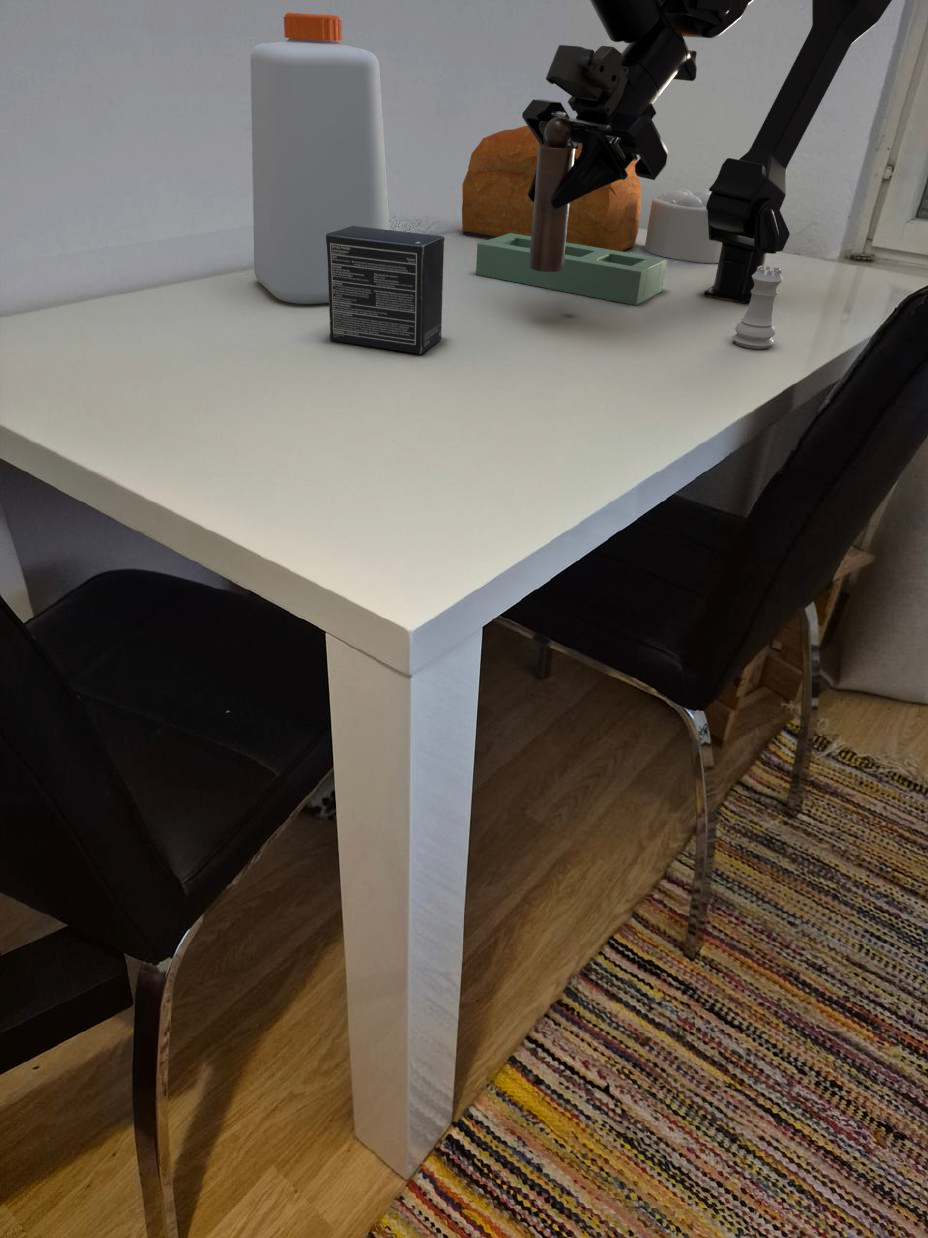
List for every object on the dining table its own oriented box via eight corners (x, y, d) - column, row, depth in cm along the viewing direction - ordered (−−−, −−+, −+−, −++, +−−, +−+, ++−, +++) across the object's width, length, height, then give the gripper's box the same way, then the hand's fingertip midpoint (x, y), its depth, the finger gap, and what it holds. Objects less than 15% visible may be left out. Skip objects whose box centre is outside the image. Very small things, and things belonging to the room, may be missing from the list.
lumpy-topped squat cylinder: (718, 265, 129) (730, 201, 125) (634, 252, 134) (643, 190, 129) (735, 253, 137) (748, 192, 132) (656, 241, 142) (665, 182, 137)
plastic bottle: (360, 270, 116) (355, 15, 101) (403, 300, 105) (405, 19, 90) (248, 277, 111) (224, 8, 95) (280, 309, 100) (260, 11, 84)
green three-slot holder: (508, 262, 124) (510, 232, 122) (662, 291, 115) (667, 259, 113) (475, 274, 118) (477, 242, 116) (636, 305, 108) (641, 271, 106)
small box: (444, 338, 93) (448, 233, 88) (422, 356, 88) (424, 245, 82) (354, 325, 96) (351, 222, 90) (327, 341, 91) (323, 232, 85)
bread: (496, 220, 151) (502, 114, 142) (643, 242, 141) (660, 130, 132) (450, 234, 139) (454, 120, 130) (608, 260, 129) (624, 138, 120)
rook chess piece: (775, 341, 98) (794, 267, 94) (769, 352, 95) (788, 275, 90) (735, 335, 100) (751, 261, 95) (728, 345, 96) (744, 269, 92)
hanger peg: (540, 262, 99) (553, 114, 91) (569, 268, 97) (585, 117, 89) (522, 267, 97) (533, 116, 88) (551, 273, 95) (565, 119, 87)
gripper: (544, 9, 92) (451, 131, 93) (666, 14, 79) (557, 155, 80) (593, 96, 100) (507, 207, 101) (711, 113, 87) (611, 240, 88)
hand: (541, 201), depth 93 cm, fingers closed on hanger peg, 4 cm apart
